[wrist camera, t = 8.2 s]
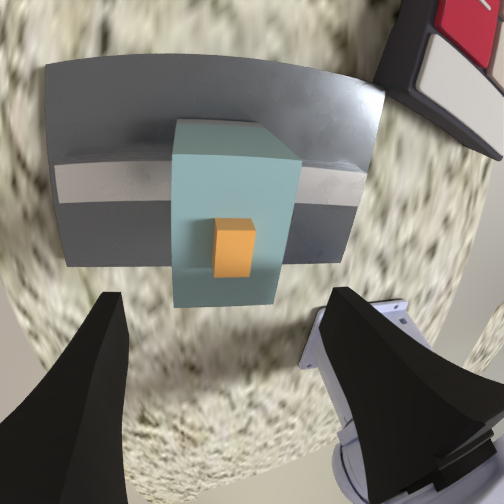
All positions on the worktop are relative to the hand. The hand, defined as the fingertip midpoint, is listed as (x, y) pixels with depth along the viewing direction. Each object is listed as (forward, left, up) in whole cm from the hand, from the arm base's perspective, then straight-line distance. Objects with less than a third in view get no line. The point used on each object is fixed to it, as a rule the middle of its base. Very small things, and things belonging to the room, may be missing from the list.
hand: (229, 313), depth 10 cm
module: (0, -2, -8) cm, 8 cm away
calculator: (-16, -14, -10) cm, 23 cm away
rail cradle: (0, -2, -9) cm, 9 cm away
